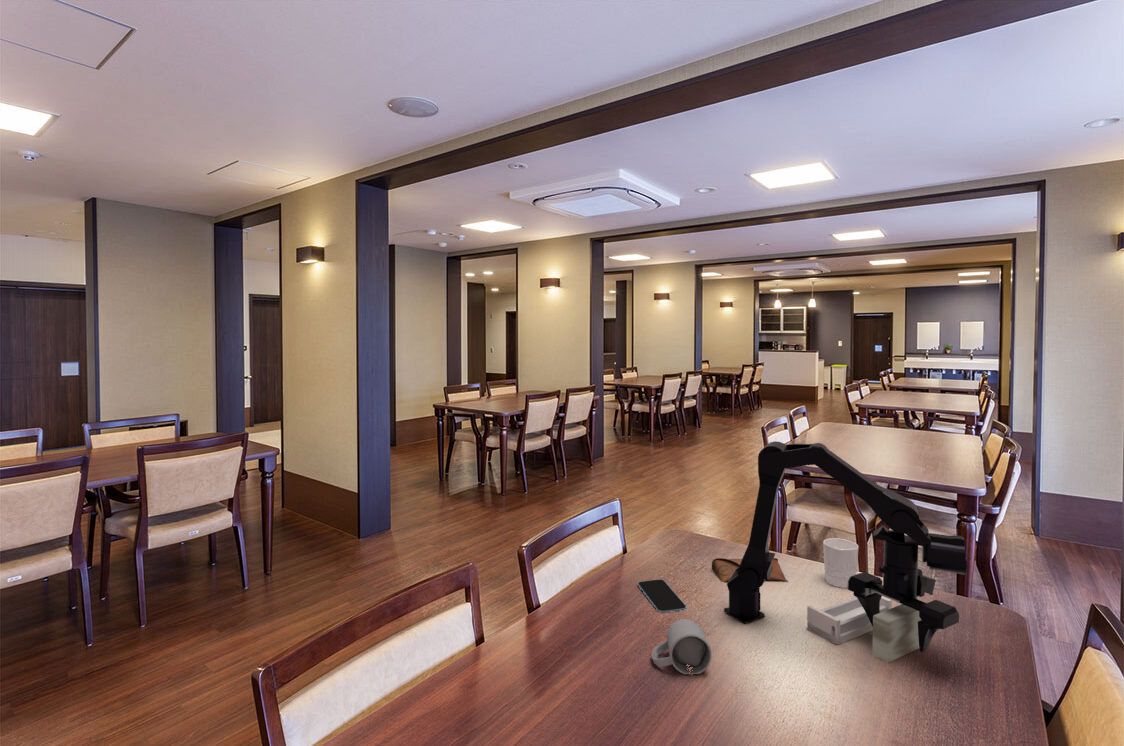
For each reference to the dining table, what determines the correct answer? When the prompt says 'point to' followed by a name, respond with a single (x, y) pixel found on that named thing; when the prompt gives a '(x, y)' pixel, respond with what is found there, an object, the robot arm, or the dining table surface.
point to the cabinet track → (842, 620)
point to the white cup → (839, 561)
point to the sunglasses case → (728, 566)
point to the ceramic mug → (684, 648)
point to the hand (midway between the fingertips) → (898, 640)
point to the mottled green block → (895, 633)
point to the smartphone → (661, 595)
